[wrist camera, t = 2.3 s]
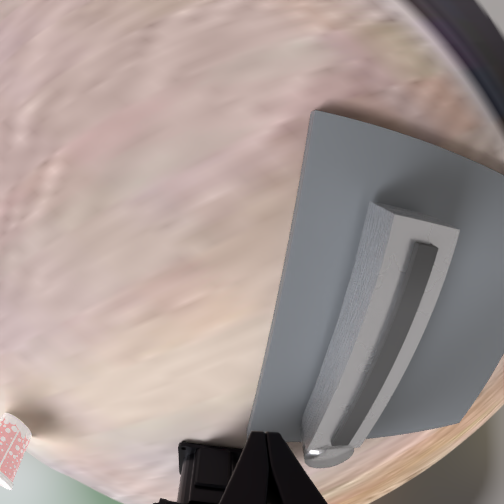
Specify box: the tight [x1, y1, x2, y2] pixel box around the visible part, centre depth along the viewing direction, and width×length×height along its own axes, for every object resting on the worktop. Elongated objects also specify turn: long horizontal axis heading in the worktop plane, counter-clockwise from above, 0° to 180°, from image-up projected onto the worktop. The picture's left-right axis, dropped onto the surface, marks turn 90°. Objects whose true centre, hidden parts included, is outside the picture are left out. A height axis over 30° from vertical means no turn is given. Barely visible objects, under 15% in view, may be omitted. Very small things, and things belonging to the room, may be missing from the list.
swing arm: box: [300, 201, 460, 468], centre depth 16 cm, size 19×4×3 cm, turn 172°
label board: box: [247, 110, 504, 442], centre depth 19 cm, size 24×23×1 cm
